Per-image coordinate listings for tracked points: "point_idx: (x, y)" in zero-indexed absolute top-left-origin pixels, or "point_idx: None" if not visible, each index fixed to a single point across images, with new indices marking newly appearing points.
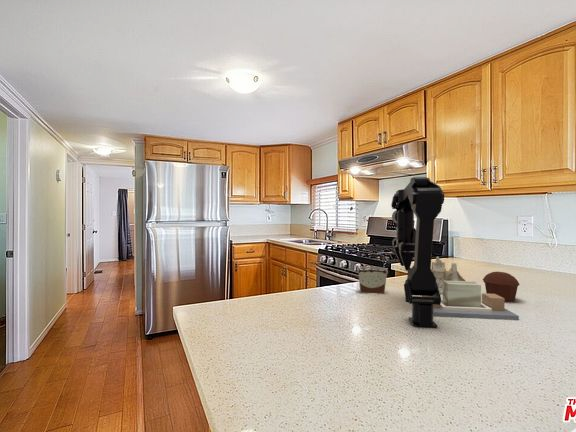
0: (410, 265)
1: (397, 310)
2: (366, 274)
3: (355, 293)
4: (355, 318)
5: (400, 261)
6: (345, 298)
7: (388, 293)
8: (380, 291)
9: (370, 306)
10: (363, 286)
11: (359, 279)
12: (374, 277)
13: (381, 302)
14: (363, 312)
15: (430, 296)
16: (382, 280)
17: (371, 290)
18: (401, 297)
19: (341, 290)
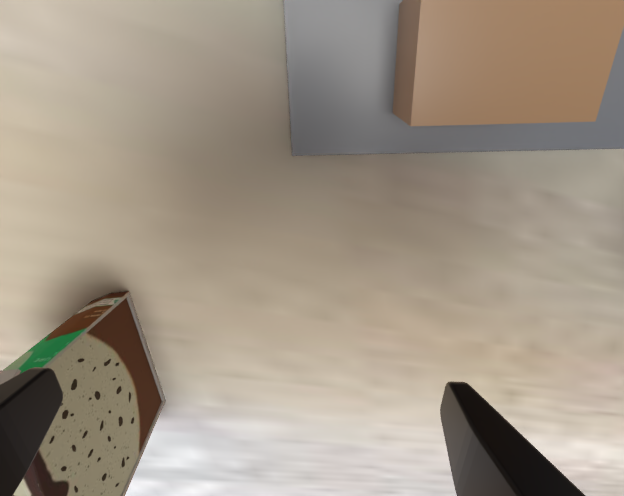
0: (539, 454)
1: (487, 281)
2: (91, 489)
3: (179, 419)
4: (592, 450)
5: (13, 473)
6: (289, 459)
7: (104, 265)
8: (126, 320)
9: (415, 386)
10: (142, 422)
11: (130, 481)
12: (83, 427)
13: (332, 332)
14: (512, 420)
15: (602, 86)
16: (76, 363)
17: (140, 367)
18: (181, 202)
19: (142, 463)
